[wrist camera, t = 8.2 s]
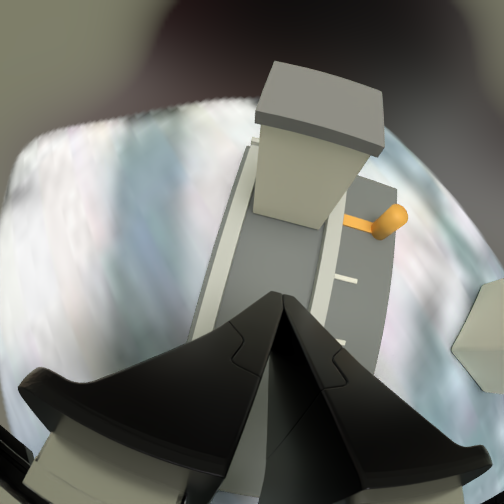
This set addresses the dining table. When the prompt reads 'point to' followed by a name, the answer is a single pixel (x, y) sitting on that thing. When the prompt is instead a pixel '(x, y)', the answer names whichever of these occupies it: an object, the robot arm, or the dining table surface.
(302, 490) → the robot arm
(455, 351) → the medicine bottle
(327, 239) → the console
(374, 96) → the fader tab
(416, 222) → the dining table surface
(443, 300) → the dining table surface
